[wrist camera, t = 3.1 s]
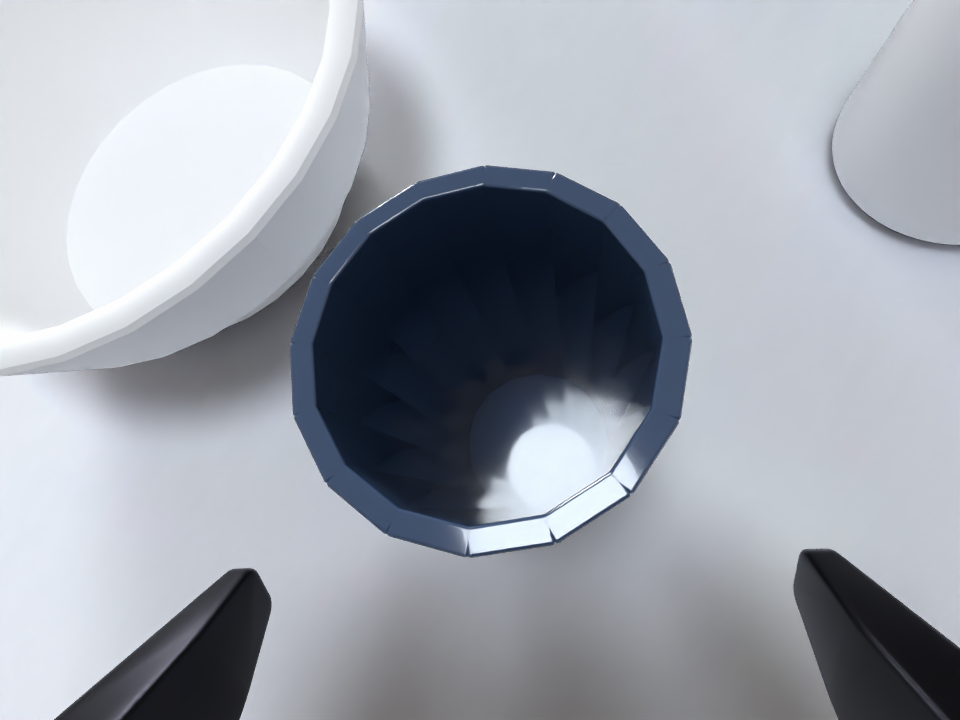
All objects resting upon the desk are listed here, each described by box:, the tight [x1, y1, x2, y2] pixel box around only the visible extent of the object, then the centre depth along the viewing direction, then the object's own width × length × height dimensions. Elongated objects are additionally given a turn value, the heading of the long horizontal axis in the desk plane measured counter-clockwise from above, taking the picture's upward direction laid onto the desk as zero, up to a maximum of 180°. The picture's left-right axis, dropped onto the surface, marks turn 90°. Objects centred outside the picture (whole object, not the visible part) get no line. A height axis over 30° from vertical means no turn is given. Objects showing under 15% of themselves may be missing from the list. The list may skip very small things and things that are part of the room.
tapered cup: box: [290, 165, 692, 558], centre depth 14 cm, size 6×6×13 cm
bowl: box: [0, 0, 370, 376], centre depth 22 cm, size 22×22×8 cm
